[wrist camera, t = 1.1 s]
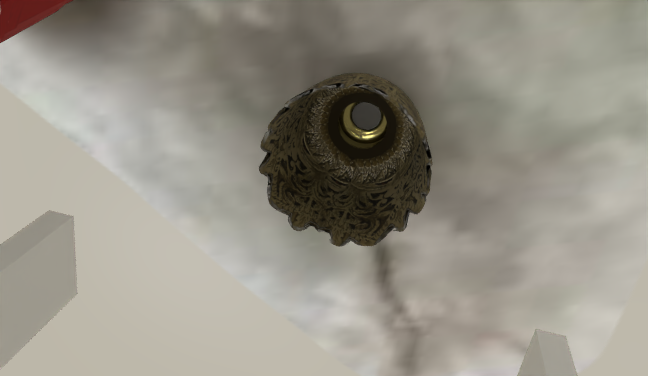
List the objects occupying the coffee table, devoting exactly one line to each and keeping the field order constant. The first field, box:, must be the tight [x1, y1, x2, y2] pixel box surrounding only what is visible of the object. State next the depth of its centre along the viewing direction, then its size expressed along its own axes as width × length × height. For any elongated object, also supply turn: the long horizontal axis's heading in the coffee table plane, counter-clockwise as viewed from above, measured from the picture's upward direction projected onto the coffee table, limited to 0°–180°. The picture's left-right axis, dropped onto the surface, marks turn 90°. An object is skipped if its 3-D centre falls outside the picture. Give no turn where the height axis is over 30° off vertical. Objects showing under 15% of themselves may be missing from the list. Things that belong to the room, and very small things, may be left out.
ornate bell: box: [259, 73, 432, 246], centre depth 27 cm, size 8×7×8 cm
